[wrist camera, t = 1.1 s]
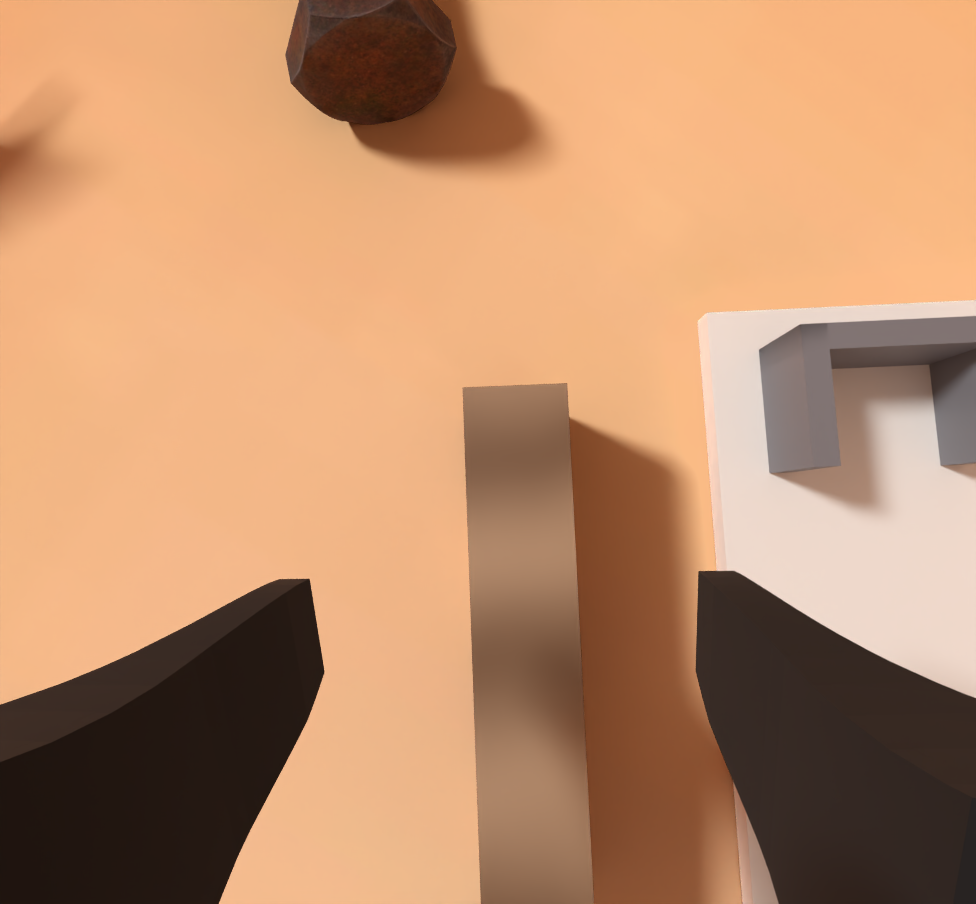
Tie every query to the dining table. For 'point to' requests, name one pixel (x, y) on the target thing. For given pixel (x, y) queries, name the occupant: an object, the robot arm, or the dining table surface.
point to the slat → (526, 647)
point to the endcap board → (849, 481)
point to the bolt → (369, 57)
